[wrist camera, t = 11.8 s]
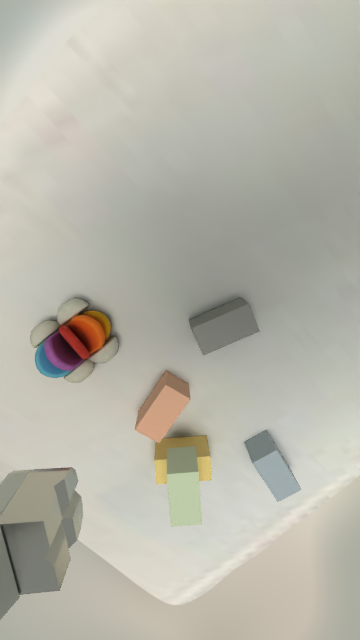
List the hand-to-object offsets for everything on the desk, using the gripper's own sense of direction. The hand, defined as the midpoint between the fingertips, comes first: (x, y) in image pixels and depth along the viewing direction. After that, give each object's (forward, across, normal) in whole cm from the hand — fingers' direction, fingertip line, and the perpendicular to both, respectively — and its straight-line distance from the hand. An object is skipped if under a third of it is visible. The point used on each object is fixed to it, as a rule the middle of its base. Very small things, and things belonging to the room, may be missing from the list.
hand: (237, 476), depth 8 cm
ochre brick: (+31, +3, +22) cm, 38 cm away
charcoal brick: (+32, -4, +4) cm, 32 cm away
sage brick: (+27, +3, +22) cm, 35 cm away
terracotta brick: (+31, +5, +14) cm, 35 cm away
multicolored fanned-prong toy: (+31, +14, +5) cm, 35 cm away
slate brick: (+31, -9, +24) cm, 41 cm away
